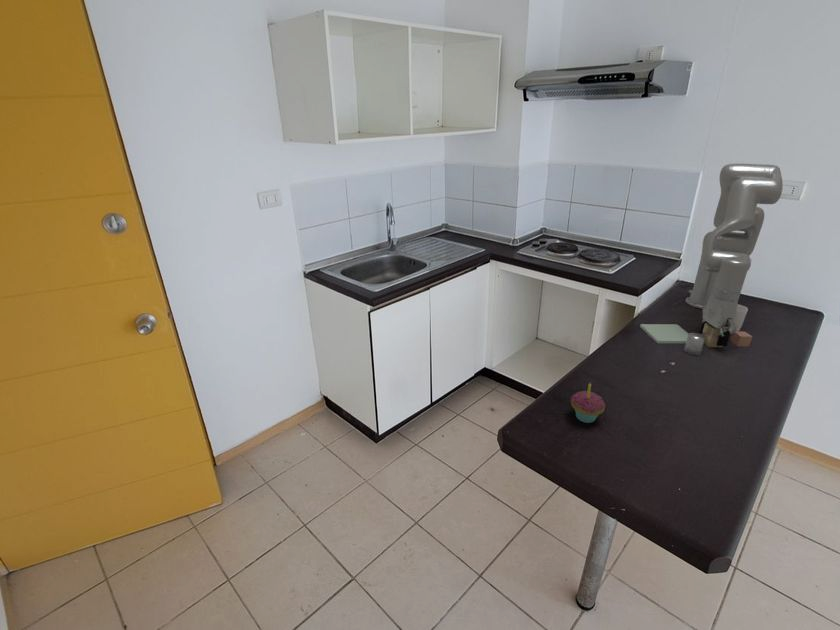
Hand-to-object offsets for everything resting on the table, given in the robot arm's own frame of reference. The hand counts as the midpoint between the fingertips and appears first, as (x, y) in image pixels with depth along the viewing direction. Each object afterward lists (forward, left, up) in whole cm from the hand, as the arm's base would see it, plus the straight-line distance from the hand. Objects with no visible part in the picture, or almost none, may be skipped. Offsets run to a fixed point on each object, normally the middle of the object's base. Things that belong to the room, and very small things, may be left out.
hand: (712, 339), depth 156 cm
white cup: (-10, +12, -2) cm, 16 cm away
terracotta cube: (0, +10, -2) cm, 10 cm away
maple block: (0, 0, -2) cm, 2 cm away
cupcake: (+43, -59, -2) cm, 73 cm away
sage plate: (-7, -12, -2) cm, 14 cm away
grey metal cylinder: (+6, -10, -2) cm, 12 cm away
